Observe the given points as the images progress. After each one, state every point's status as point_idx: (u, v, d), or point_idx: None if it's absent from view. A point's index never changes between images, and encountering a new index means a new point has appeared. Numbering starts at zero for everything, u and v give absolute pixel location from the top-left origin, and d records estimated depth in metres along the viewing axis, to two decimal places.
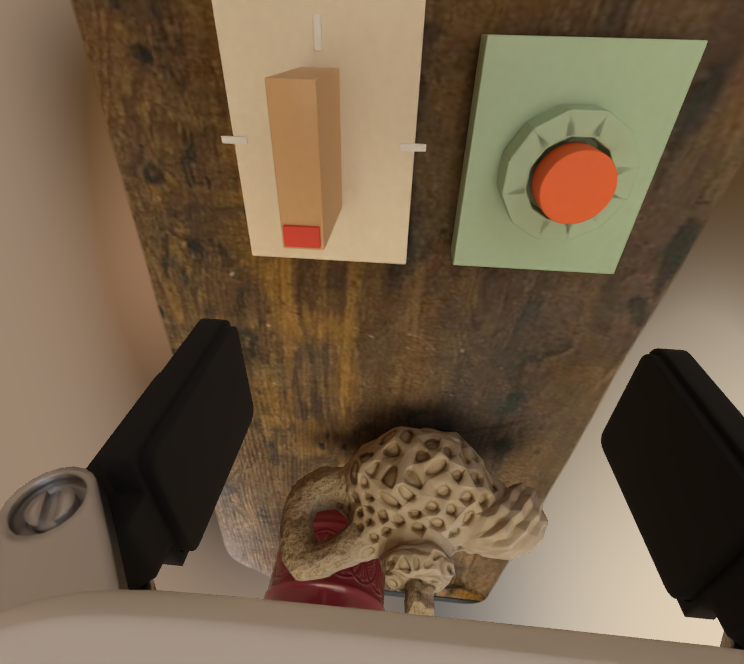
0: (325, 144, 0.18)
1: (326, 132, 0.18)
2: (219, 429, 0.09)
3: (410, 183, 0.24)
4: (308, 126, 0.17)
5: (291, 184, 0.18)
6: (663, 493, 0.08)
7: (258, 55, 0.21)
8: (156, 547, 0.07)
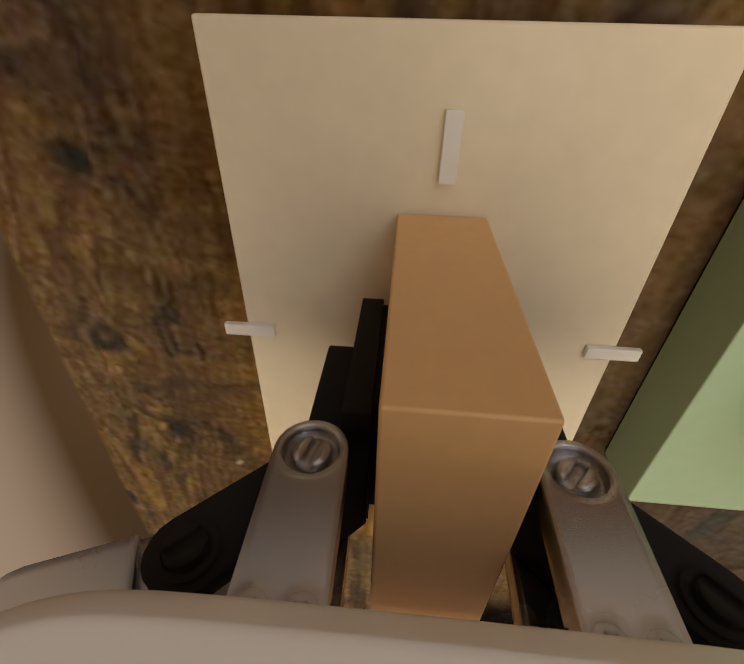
0: None
1: None
2: None
3: (587, 402, 0.12)
4: (498, 506, 0.05)
5: (412, 581, 0.07)
6: None
7: (307, 189, 0.09)
8: (367, 496, 0.08)
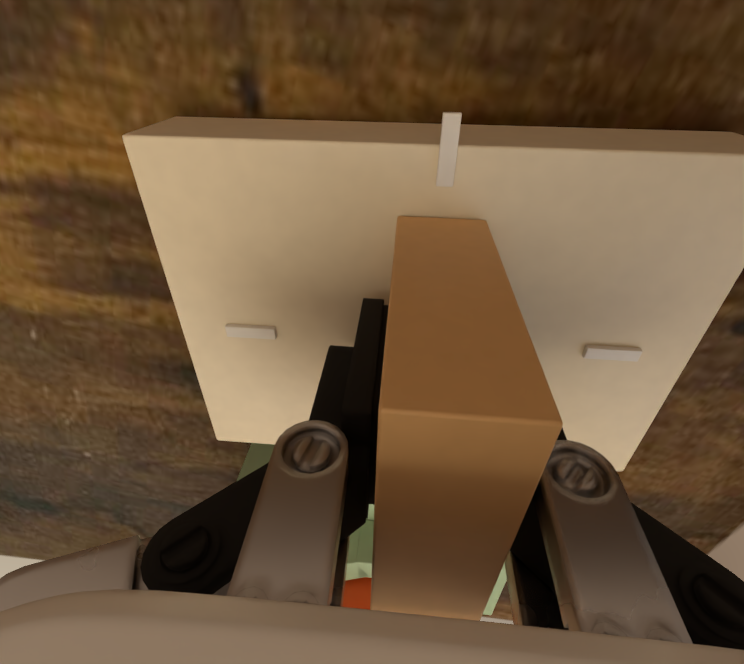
0: None
1: None
2: None
3: None
4: (497, 507, 0.05)
5: (412, 582, 0.07)
6: None
7: (612, 243, 0.09)
8: (367, 496, 0.08)
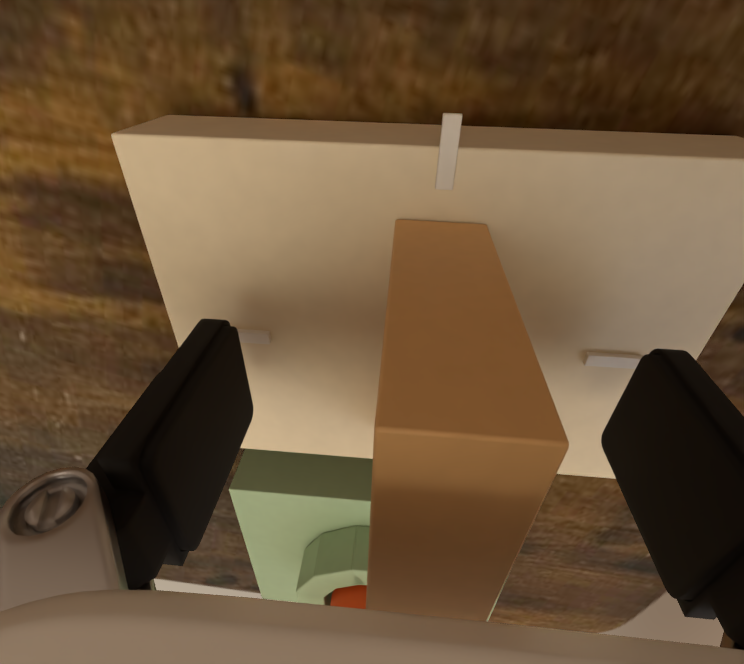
0: None
1: None
2: (219, 429, 0.09)
3: (354, 456, 0.14)
4: (498, 528, 0.05)
5: (408, 602, 0.07)
6: (663, 493, 0.08)
7: (614, 249, 0.09)
8: (157, 547, 0.07)
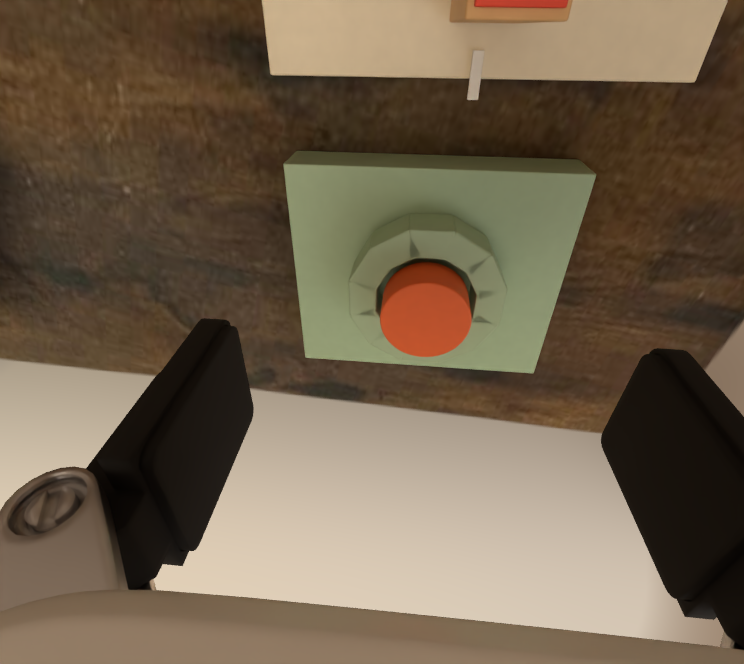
0: None
1: None
2: (219, 429, 0.09)
3: (416, 74, 0.14)
4: None
5: None
6: (663, 493, 0.08)
7: None
8: (157, 547, 0.07)
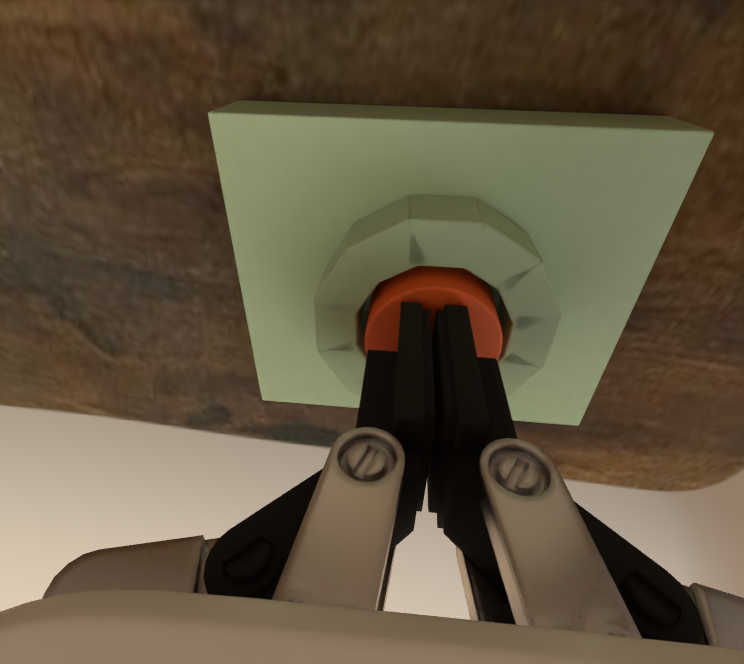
0: None
1: None
2: None
3: None
4: None
5: None
6: None
7: None
8: None
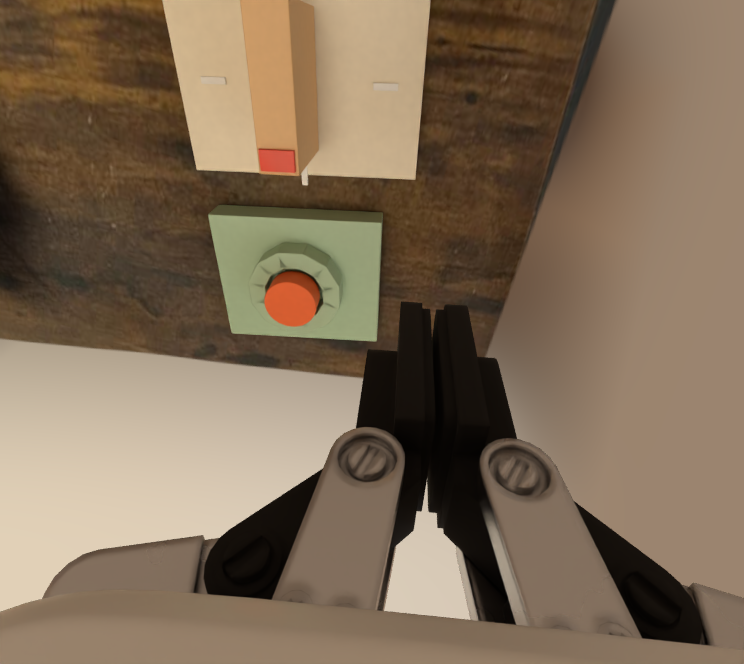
0: (299, 69, 0.19)
1: (300, 58, 0.19)
2: None
3: None
4: (281, 44, 0.17)
5: (266, 105, 0.19)
6: None
7: (369, 18, 0.22)
8: None
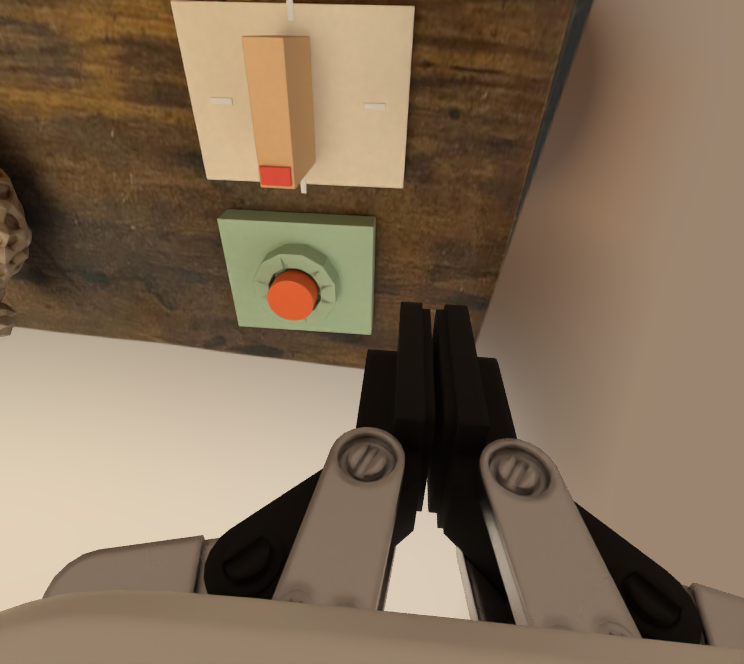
0: (294, 96, 0.22)
1: (295, 86, 0.22)
2: None
3: None
4: (278, 78, 0.20)
5: (265, 129, 0.22)
6: None
7: (359, 47, 0.24)
8: None
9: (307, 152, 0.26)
